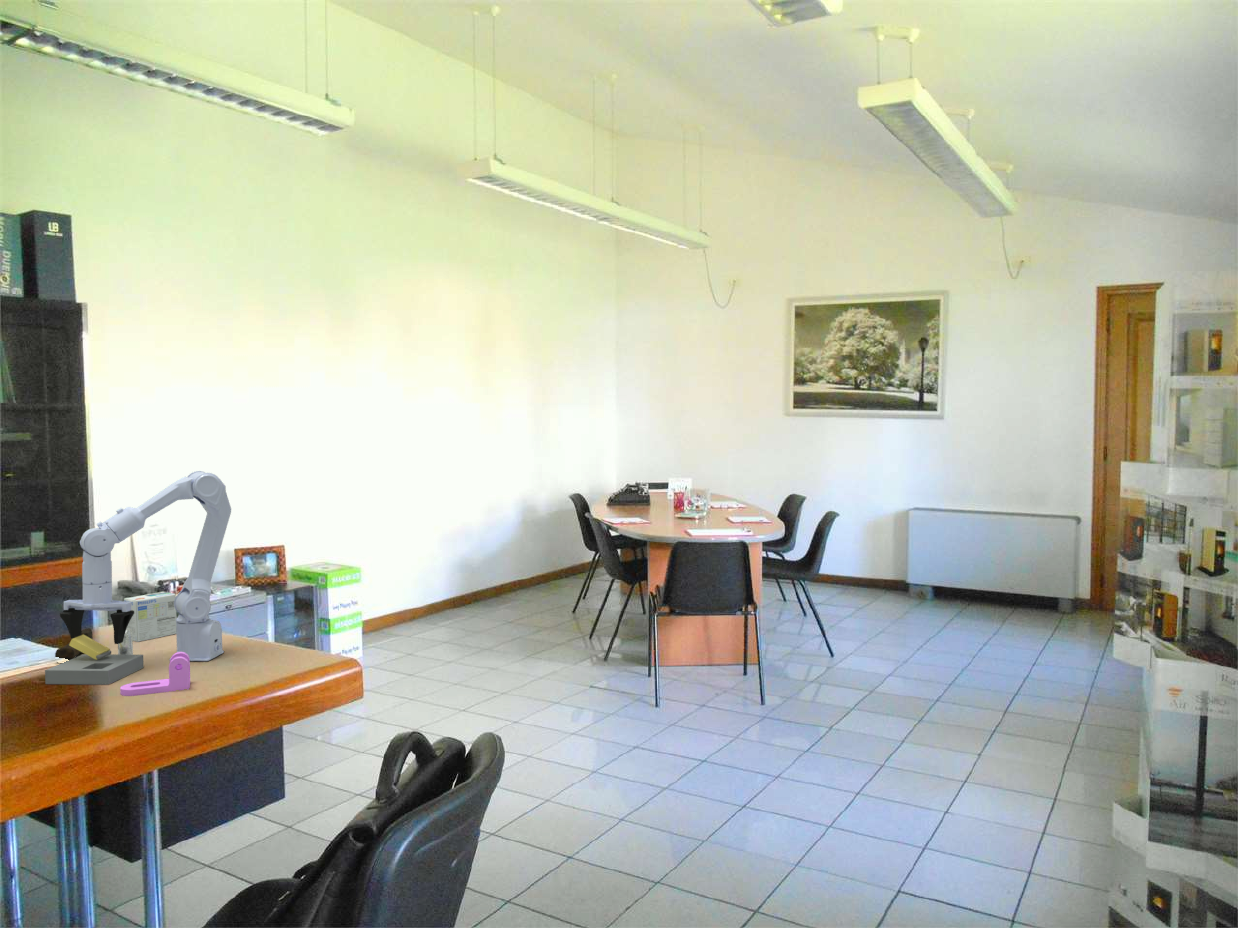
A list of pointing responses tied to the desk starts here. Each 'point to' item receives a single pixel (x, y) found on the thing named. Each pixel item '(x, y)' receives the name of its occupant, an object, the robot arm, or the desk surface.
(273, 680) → the desk surface
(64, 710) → the desk surface
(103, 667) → the plate
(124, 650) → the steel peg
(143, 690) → the bracket
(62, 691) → the desk surface
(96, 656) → the latch flap
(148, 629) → the light bulb box
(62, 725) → the desk surface
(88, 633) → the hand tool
